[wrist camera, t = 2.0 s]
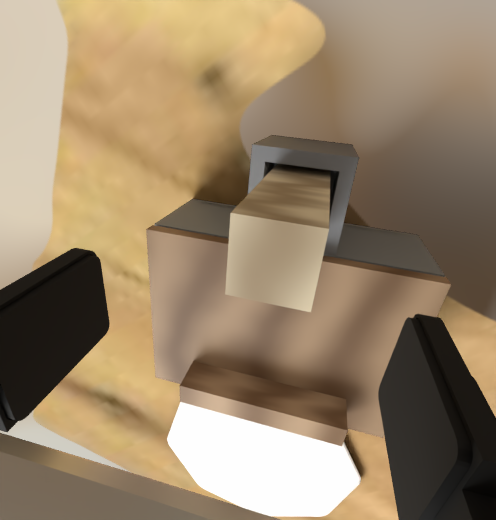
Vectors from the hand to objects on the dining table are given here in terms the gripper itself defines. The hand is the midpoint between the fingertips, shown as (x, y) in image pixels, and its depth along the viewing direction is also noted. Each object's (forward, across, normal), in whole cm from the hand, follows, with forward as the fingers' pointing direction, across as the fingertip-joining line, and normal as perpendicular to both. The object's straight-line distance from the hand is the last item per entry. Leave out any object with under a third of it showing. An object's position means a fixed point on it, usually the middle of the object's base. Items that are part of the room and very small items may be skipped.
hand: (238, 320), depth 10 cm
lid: (+14, 0, +12) cm, 18 cm away
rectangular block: (+18, -1, 0) cm, 18 cm away
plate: (+23, -1, +42) cm, 48 cm away
